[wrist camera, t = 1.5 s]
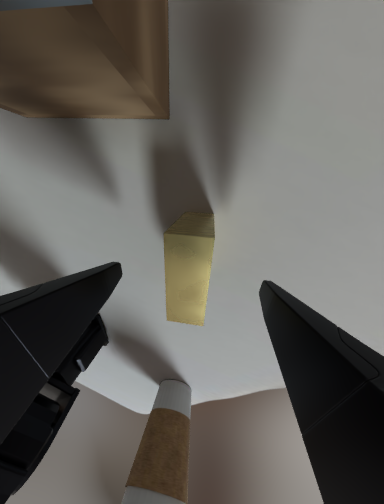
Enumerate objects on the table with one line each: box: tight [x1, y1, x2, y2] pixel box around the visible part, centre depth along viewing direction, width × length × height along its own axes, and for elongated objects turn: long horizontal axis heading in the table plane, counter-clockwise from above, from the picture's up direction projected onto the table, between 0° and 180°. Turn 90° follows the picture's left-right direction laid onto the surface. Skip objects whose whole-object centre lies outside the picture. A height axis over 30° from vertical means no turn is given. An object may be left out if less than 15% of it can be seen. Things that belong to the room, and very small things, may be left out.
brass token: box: [164, 212, 215, 326], centre depth 10 cm, size 2×6×6 cm, turn 177°
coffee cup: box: [121, 380, 191, 504], centre depth 19 cm, size 8×8×15 cm
